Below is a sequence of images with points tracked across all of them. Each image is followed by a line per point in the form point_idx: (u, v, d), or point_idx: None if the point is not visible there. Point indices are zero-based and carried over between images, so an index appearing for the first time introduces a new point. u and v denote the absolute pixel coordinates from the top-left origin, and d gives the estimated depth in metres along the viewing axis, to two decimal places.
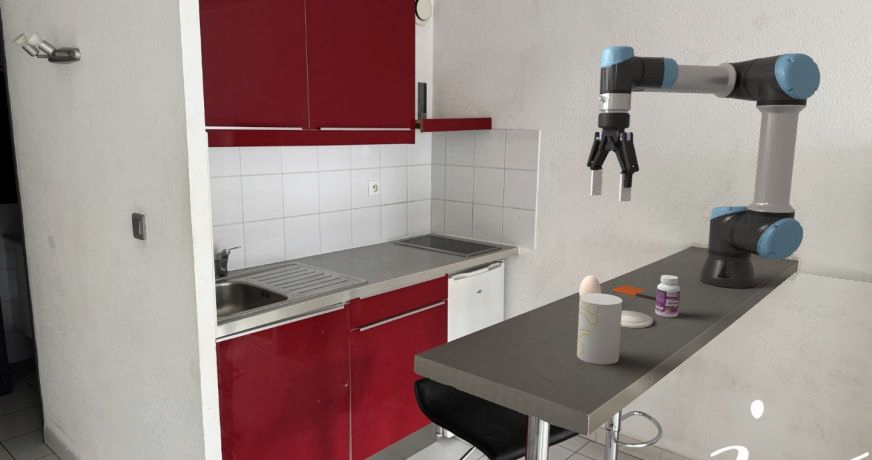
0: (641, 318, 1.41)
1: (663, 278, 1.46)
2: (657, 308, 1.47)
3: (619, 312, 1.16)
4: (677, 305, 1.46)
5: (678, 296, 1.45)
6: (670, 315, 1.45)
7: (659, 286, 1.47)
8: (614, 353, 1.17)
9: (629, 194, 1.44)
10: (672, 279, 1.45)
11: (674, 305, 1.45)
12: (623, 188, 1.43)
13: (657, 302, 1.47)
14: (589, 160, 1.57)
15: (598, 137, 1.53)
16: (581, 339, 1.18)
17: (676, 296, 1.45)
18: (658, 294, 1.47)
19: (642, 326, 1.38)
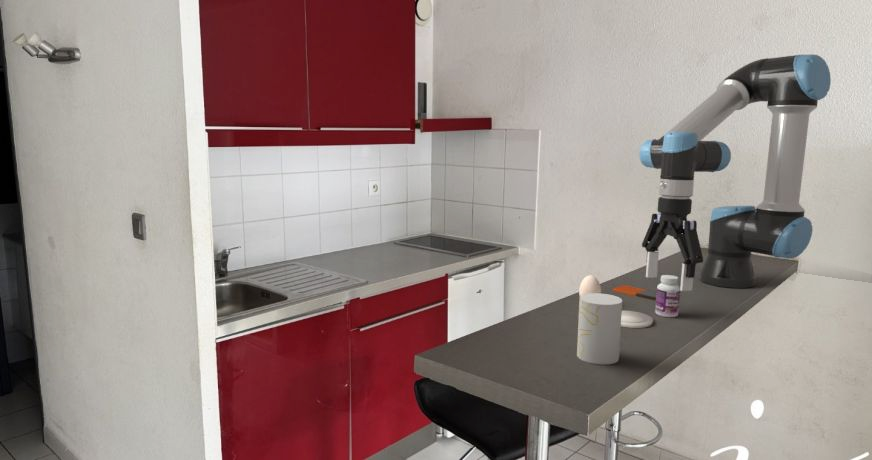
0: (641, 318, 1.41)
1: (663, 278, 1.46)
2: (657, 308, 1.47)
3: (619, 312, 1.16)
4: (677, 305, 1.46)
5: (678, 296, 1.45)
6: (670, 315, 1.45)
7: (659, 286, 1.47)
8: (614, 353, 1.17)
9: (691, 283, 1.40)
10: (672, 279, 1.45)
11: (674, 305, 1.45)
12: (685, 278, 1.39)
13: (657, 302, 1.47)
14: (645, 241, 1.53)
15: (656, 219, 1.49)
16: (581, 339, 1.18)
17: (676, 296, 1.45)
18: (658, 294, 1.47)
19: (642, 326, 1.38)
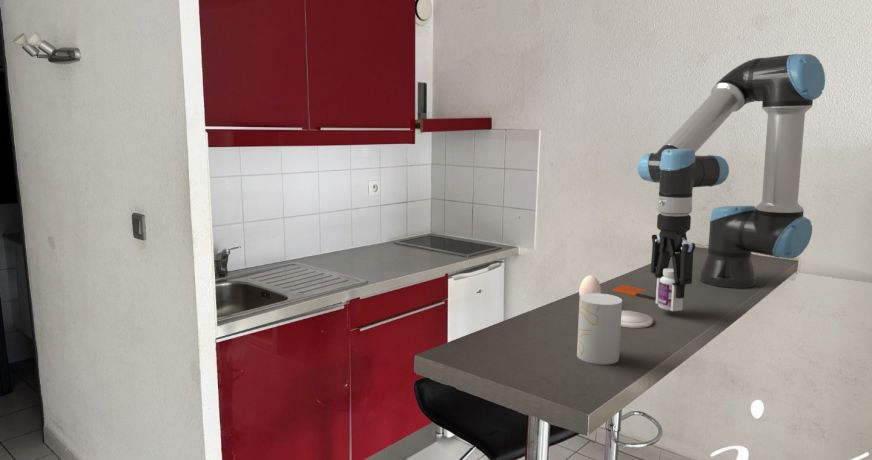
0: (641, 318, 1.41)
1: (665, 271, 1.46)
2: (660, 301, 1.47)
3: (619, 312, 1.16)
4: None
5: None
6: None
7: (661, 279, 1.47)
8: (614, 353, 1.17)
9: (681, 303, 1.45)
10: None
11: None
12: (675, 298, 1.44)
13: (660, 295, 1.47)
14: (652, 265, 1.51)
15: (656, 239, 1.50)
16: (581, 339, 1.18)
17: None
18: (661, 287, 1.47)
19: (642, 326, 1.38)
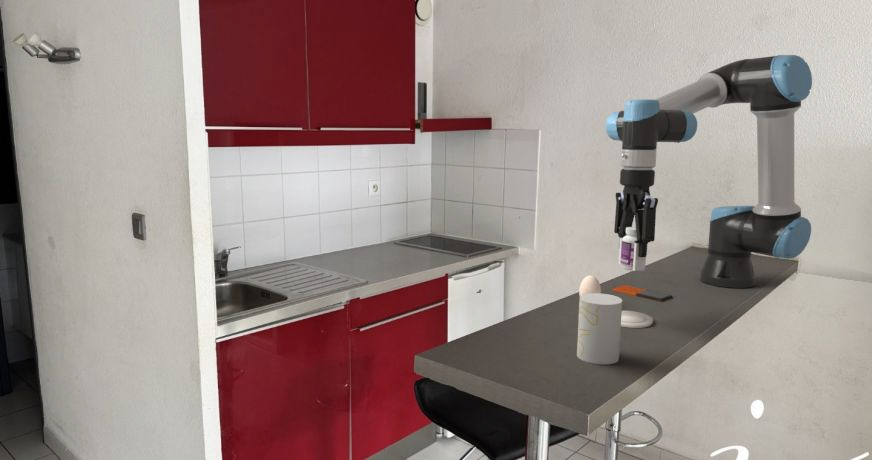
0: (641, 318, 1.41)
1: (628, 229, 1.39)
2: (622, 261, 1.40)
3: (619, 312, 1.16)
4: None
5: None
6: None
7: (624, 238, 1.40)
8: (614, 353, 1.17)
9: (644, 263, 1.38)
10: None
11: None
12: (637, 257, 1.37)
13: (622, 255, 1.40)
14: (616, 225, 1.44)
15: (620, 197, 1.43)
16: (581, 339, 1.18)
17: None
18: (623, 246, 1.40)
19: (642, 326, 1.38)
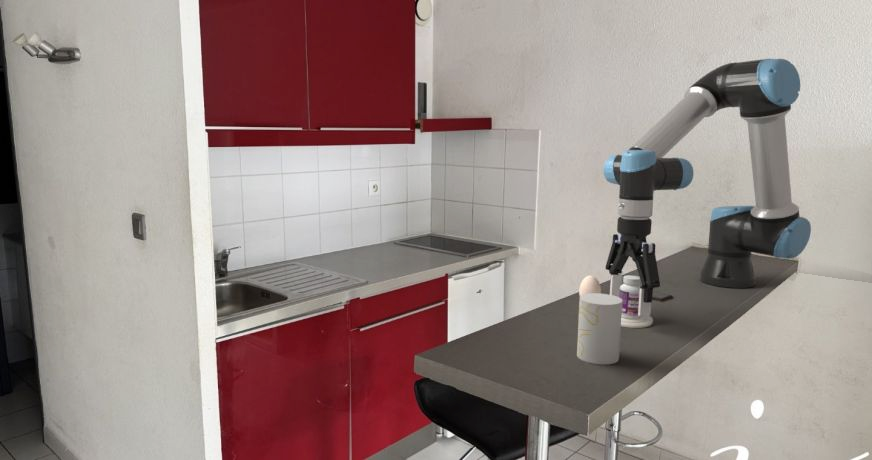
0: (641, 318, 1.41)
1: (625, 278, 1.41)
2: None
3: (619, 312, 1.16)
4: None
5: None
6: (633, 317, 1.40)
7: (621, 287, 1.42)
8: (614, 353, 1.17)
9: (649, 308, 1.36)
10: (634, 280, 1.40)
11: (637, 306, 1.40)
12: (643, 302, 1.36)
13: None
14: (608, 263, 1.49)
15: (617, 240, 1.45)
16: (581, 339, 1.18)
17: (638, 298, 1.40)
18: (620, 295, 1.42)
19: (642, 326, 1.38)
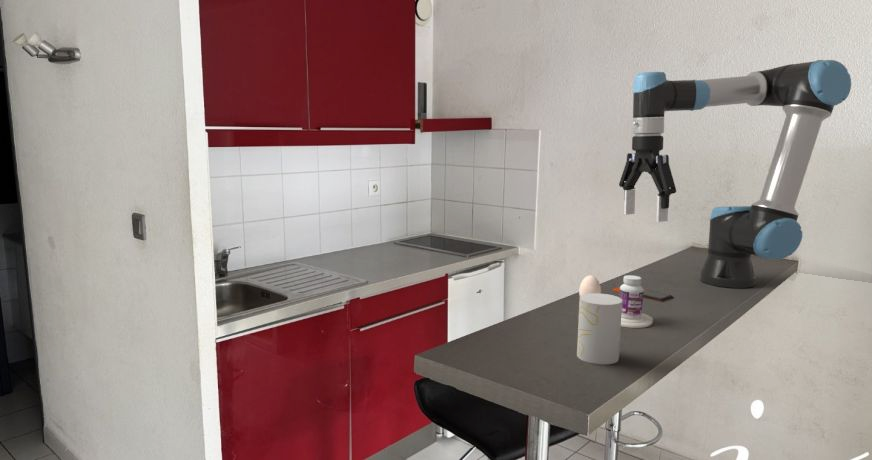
0: (641, 318, 1.41)
1: (625, 278, 1.41)
2: None
3: (619, 312, 1.16)
4: (640, 306, 1.41)
5: (641, 297, 1.40)
6: (633, 317, 1.40)
7: (622, 287, 1.42)
8: (614, 353, 1.17)
9: (666, 214, 1.49)
10: (635, 280, 1.40)
11: (637, 306, 1.40)
12: (660, 209, 1.48)
13: None
14: (621, 180, 1.62)
15: (631, 158, 1.58)
16: (581, 339, 1.18)
17: (638, 298, 1.40)
18: (621, 295, 1.42)
19: (642, 326, 1.38)
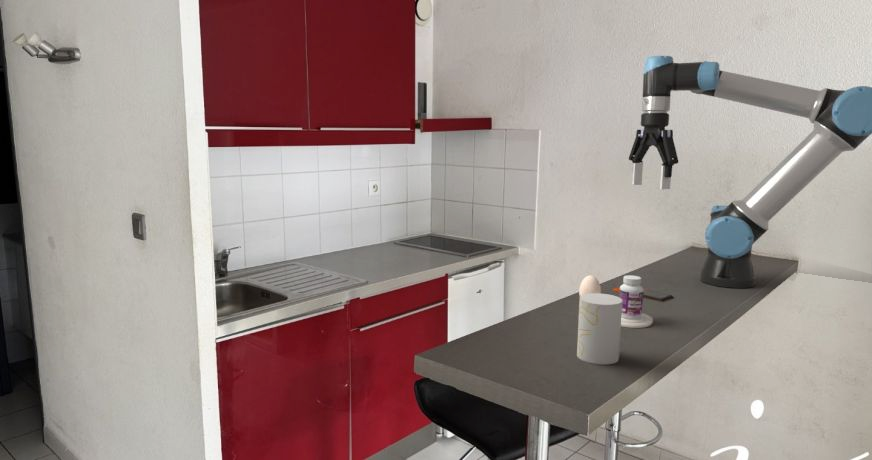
0: (641, 318, 1.41)
1: (625, 279, 1.41)
2: None
3: (619, 312, 1.16)
4: (640, 306, 1.41)
5: (641, 297, 1.40)
6: (633, 317, 1.40)
7: (621, 287, 1.42)
8: (614, 353, 1.17)
9: (669, 183, 1.67)
10: (634, 280, 1.40)
11: (637, 306, 1.40)
12: (664, 178, 1.67)
13: None
14: (631, 154, 1.81)
15: (640, 134, 1.77)
16: (581, 339, 1.18)
17: (638, 298, 1.40)
18: (620, 295, 1.42)
19: (642, 326, 1.38)
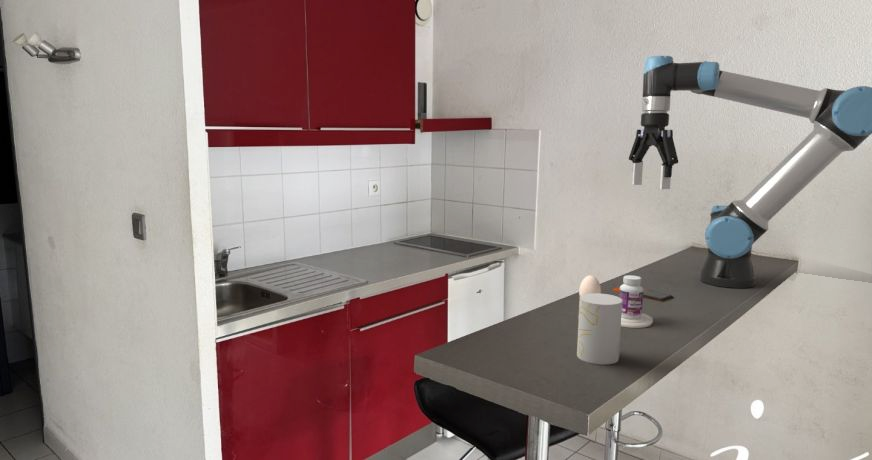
0: (641, 318, 1.41)
1: (625, 279, 1.41)
2: None
3: (619, 312, 1.16)
4: (640, 306, 1.41)
5: (641, 297, 1.40)
6: (633, 317, 1.40)
7: (621, 287, 1.42)
8: (614, 353, 1.17)
9: (669, 183, 1.67)
10: (634, 280, 1.40)
11: (637, 306, 1.40)
12: (664, 178, 1.67)
13: None
14: (631, 154, 1.81)
15: (640, 134, 1.77)
16: (581, 339, 1.18)
17: (638, 298, 1.40)
18: (620, 295, 1.42)
19: (642, 326, 1.38)
